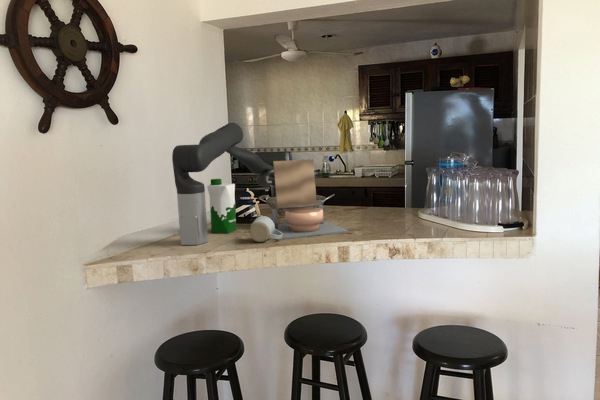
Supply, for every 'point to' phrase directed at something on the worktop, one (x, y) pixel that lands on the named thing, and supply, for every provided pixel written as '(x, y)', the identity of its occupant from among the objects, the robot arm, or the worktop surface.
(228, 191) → the milk carton
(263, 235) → the ceramic mug
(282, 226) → the slate mat
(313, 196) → the cover sheet
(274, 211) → the hinge posts
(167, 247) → the worktop surface
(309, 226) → the terracotta bowl
